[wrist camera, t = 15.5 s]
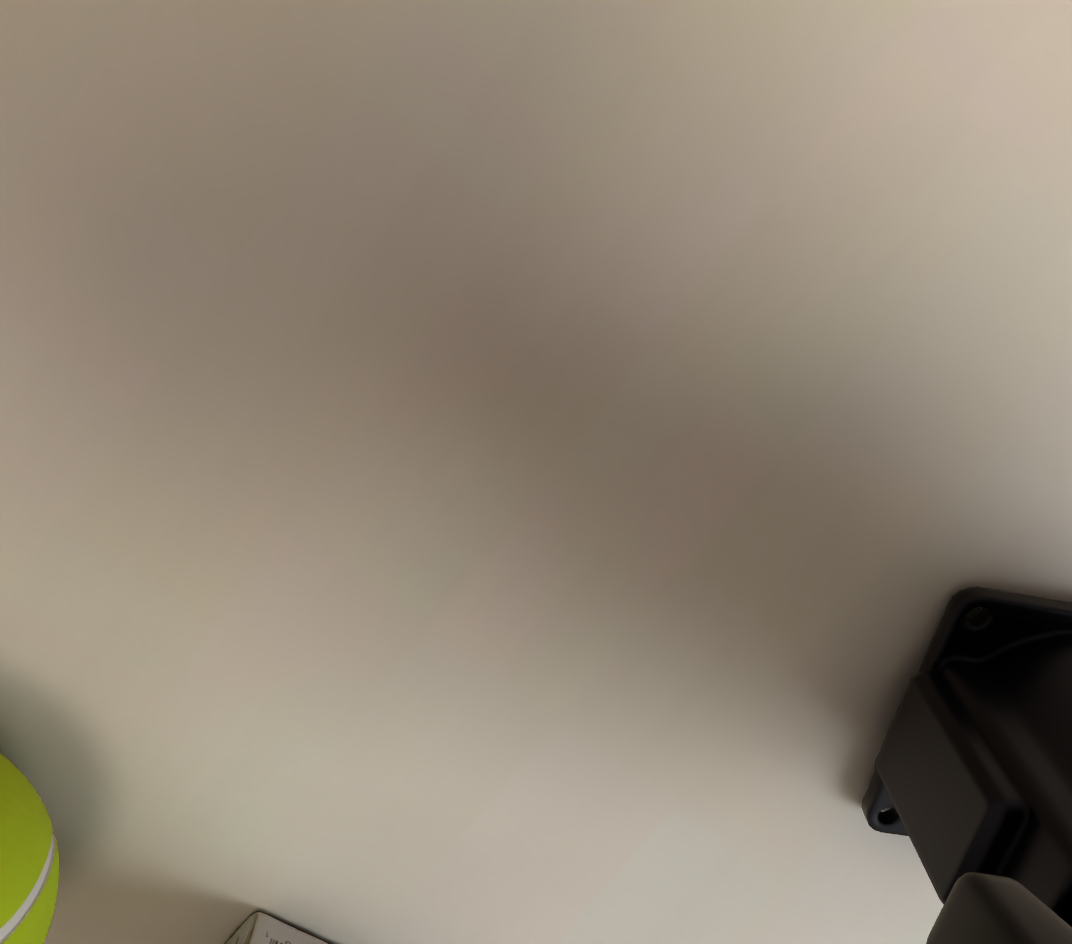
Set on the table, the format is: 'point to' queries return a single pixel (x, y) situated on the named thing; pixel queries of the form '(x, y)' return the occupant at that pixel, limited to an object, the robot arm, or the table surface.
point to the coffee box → (270, 932)
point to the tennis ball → (25, 861)
